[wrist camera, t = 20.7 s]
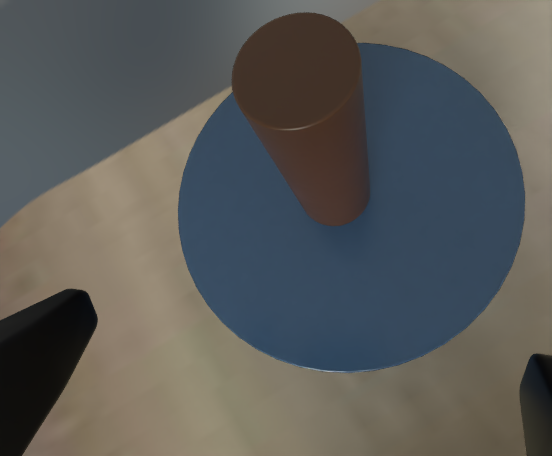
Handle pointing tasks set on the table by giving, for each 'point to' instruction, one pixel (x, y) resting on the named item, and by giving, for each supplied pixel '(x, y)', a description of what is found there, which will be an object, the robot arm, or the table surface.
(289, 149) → the tin lid
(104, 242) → the table surface
